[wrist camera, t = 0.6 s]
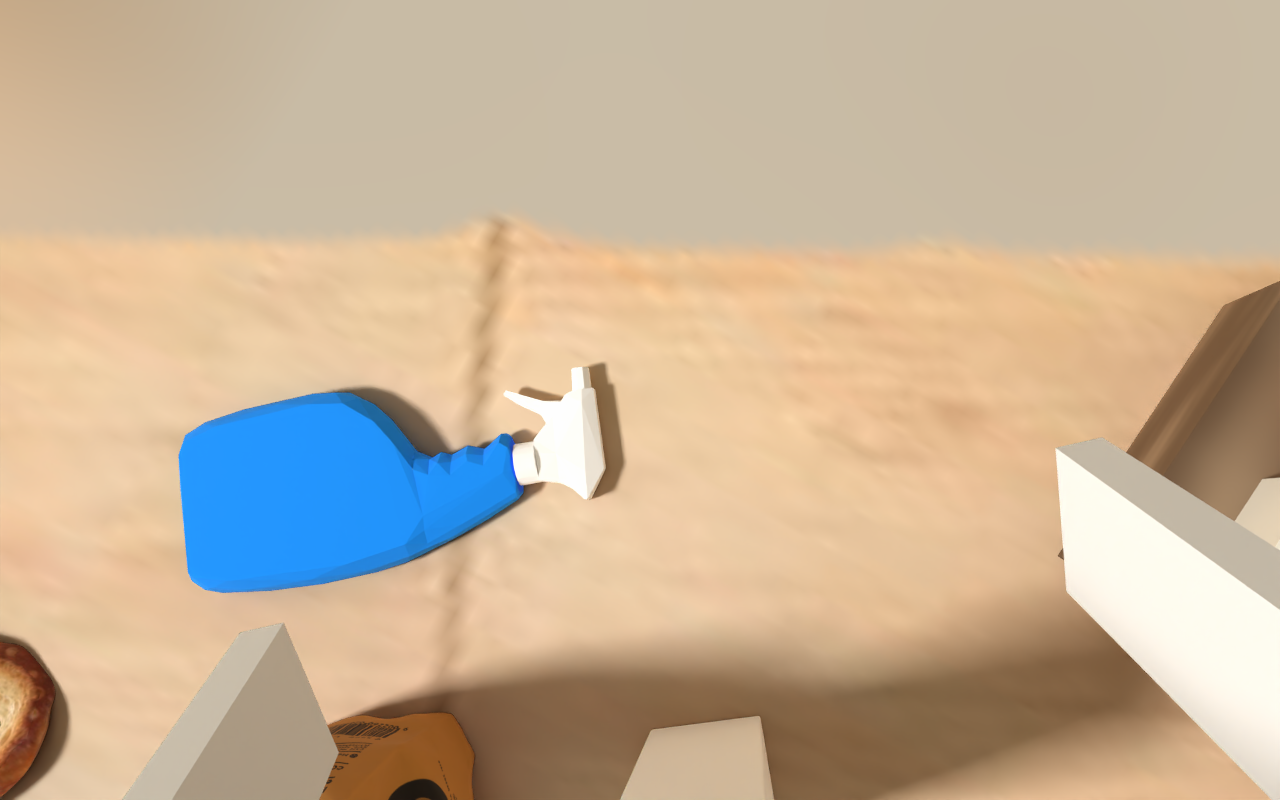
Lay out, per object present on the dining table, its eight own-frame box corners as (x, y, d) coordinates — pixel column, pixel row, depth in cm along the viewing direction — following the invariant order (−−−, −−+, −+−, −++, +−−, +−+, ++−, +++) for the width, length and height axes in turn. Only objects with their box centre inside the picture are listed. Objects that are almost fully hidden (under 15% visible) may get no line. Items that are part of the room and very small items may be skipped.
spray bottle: (183, 607, 47) (614, 534, 45) (167, 416, 49) (582, 336, 47) (215, 602, 50) (621, 532, 48) (199, 421, 52) (591, 347, 50)
